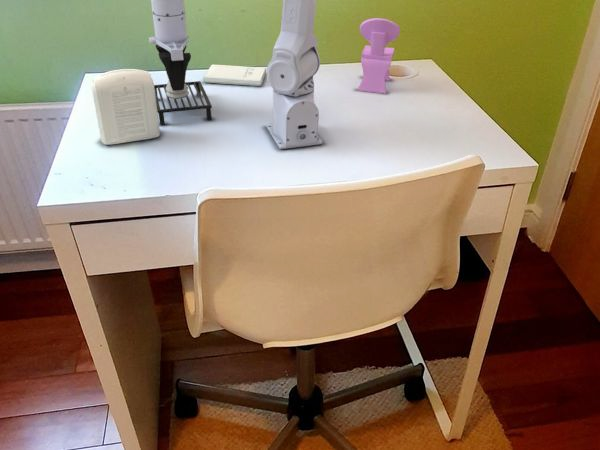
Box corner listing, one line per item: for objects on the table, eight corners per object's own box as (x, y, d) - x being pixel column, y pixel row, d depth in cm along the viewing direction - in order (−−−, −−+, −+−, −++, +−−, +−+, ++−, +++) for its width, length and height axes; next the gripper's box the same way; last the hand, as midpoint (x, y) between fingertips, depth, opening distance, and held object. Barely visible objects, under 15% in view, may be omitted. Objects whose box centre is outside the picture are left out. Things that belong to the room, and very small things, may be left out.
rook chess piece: (170, 90, 109) (165, 49, 104) (192, 91, 108) (188, 51, 104) (162, 98, 105) (157, 57, 101) (185, 100, 105) (181, 59, 100)
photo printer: (157, 128, 101) (148, 62, 94) (163, 138, 98) (154, 70, 91) (99, 137, 98) (86, 69, 91) (103, 148, 95) (89, 78, 88)
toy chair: (394, 79, 125) (403, 11, 117) (391, 94, 118) (400, 22, 110) (358, 76, 127) (364, 8, 118) (352, 89, 120) (359, 18, 111)
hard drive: (212, 70, 127) (266, 73, 126) (204, 83, 120) (260, 86, 120) (212, 63, 126) (266, 66, 125) (203, 76, 119) (260, 79, 119)
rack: (212, 120, 105) (211, 105, 103) (159, 126, 102) (157, 111, 101) (201, 94, 115) (200, 80, 113) (152, 99, 112) (150, 85, 111)
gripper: (142, 3, 102) (151, 74, 110) (149, 24, 91) (159, 102, 99) (180, 1, 104) (186, 71, 112) (192, 22, 93) (198, 98, 101)
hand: (176, 85), depth 106 cm, fingers closed on rook chess piece, 3 cm apart
